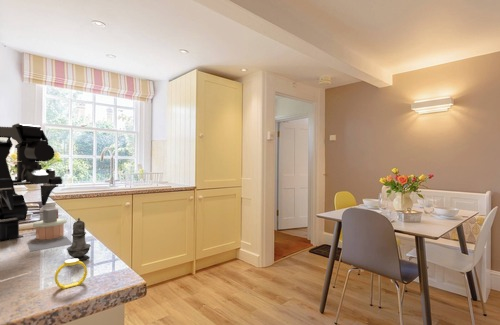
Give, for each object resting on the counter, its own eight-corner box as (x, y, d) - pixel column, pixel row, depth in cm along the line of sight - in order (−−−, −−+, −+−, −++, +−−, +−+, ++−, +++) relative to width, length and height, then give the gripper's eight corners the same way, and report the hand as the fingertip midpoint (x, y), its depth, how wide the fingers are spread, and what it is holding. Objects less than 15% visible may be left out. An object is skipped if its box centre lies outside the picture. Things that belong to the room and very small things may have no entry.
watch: (85, 281, 62) (87, 256, 62) (86, 286, 60) (89, 259, 60) (53, 287, 58) (56, 260, 59) (54, 292, 56) (56, 264, 56)
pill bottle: (61, 226, 114) (61, 200, 114) (53, 229, 108) (53, 202, 108) (44, 226, 112) (44, 201, 112) (36, 230, 106) (36, 203, 106)
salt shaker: (78, 264, 72) (78, 220, 72) (61, 262, 73) (61, 219, 73) (95, 256, 78) (95, 216, 78) (78, 255, 79) (78, 215, 79)
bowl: (31, 238, 95) (31, 224, 95) (56, 233, 102) (56, 220, 102) (43, 241, 92) (43, 227, 92) (68, 235, 99) (68, 222, 99)
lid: (26, 225, 95) (26, 210, 95) (57, 219, 104) (57, 206, 104) (42, 228, 90) (41, 213, 90) (72, 222, 99) (72, 208, 99)
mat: (27, 244, 88) (27, 243, 88) (66, 238, 96) (66, 237, 96) (30, 253, 80) (30, 251, 80) (72, 245, 88) (72, 243, 88)
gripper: (6, 161, 77) (6, 214, 77) (71, 161, 94) (71, 204, 94) (-13, 161, 81) (-13, 211, 81) (52, 161, 98) (53, 202, 98)
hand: (28, 207), depth 89 cm, fingers open, 9 cm apart
